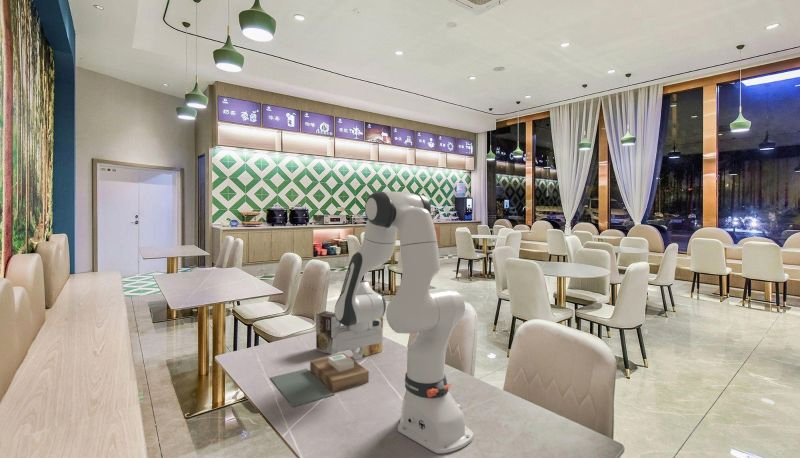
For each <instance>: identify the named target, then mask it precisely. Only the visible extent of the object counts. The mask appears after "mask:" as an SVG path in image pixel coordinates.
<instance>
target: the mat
mask: <svg viewBox="0 0 800 458" xmlns="http://www.w3.org/2000/svg"><path fill="white" fill-rule="evenodd" d="M269 379H270V380H271V381H272V382H273V384H274V385H275V386H276V387H277V389H278V390H279V391H280V393H281V394H282V395H283V397H285V400H287V402H288V403H289V404H290V405H291V406H292V407H293V408H296V407H298V406H302V405H305V404H308V403H312V402H316V401H320V400H323V399H326V398H329V397H333V396H335V394H334V392H332V391H331V390H330V389H329V388H328V387H327V386H326V385H325V384H324V383H322V382H321V381H320V380H319V379H318V378H317V377H316V376H315V375H314V374H313V373H312V372H311V371H310V369H308V368H304V369H300V370H296V371H295V370H294V371H291V372H286V373H283V374H279V375H275V376H271V377H270V378H269Z"/></svg>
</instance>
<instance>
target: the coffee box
mask: <svg viewBox="0 0 800 458" xmlns="http://www.w3.org/2000/svg"><path fill="white" fill-rule="evenodd" d="M337 326H342V324H341V323H340V322H339V321H338V320H337V319H336V317H335V312H332V311H327V310H325V311H322V312H319V313H317V314H315V334H316V335H315V338H316V339H315V340H316V341H315V342H316V344H315V345H316V346H315V347H316V351H317V352H321V353H325V354H328V355H330V356H333V355H335V354H336V353H337V352H336V351H334V350H333V348H332V341H333V330H334V329H335V328H336V327H337Z"/></svg>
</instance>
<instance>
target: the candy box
mask: <svg viewBox="0 0 800 458" xmlns="http://www.w3.org/2000/svg"><path fill="white" fill-rule="evenodd" d="M379 320H381V325H380V326H381V327H382V332H383V333H384V331H383V330H384V329H383V328H384V326H383V325H384V324H383V323H384V321H383V320H384V316H383V317H382V318H380V319H379ZM381 352H382V353H383V341H382V342H381V343H377V344H373V345H368V346H365V350H364V352H363V354H362V356H365V357H366V356H370V355H374V354H377V353H381Z"/></svg>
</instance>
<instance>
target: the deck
mask: <svg viewBox="0 0 800 458" xmlns="http://www.w3.org/2000/svg"><path fill="white" fill-rule="evenodd" d="M342 354H343V355H345V356H346V357H347V358H349V359H350V360H352V361H353V362H354V368H351V369H347V370H343V371H338V370H337V369H335V368H334V367H333V366H332V365H331V364H329V363H328V358H329V357H333V356H337V355H342ZM309 363H310V364H309V367H310V368H309V371H310V372H311V373H312V374H313V375H314V376H315V377H316V378H317V379H318V380H320V381H321V382H322V383H323V384H324V385H325V386H326V387H327V388H328V389H329V390H330V391H331V392H332V393H336V392H339V391H342V390H346V389H348V388H353V387H355V386H359V385H362V384H367V383H369V382H370V381H369V375H370V373H369V372H370V371H369V370H368V369H366V368H365V367H363V365H361V364H360V363H358V362H357V361H356V360H355V359H352V358H351V357H350V356H348V355H347V354H346V353H344V352H342V353H341V352H340V353H338V354H332V355H329V356H324V357H321V358H320V357H319V358H317V359H312V360H310V362H309Z"/></svg>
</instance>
